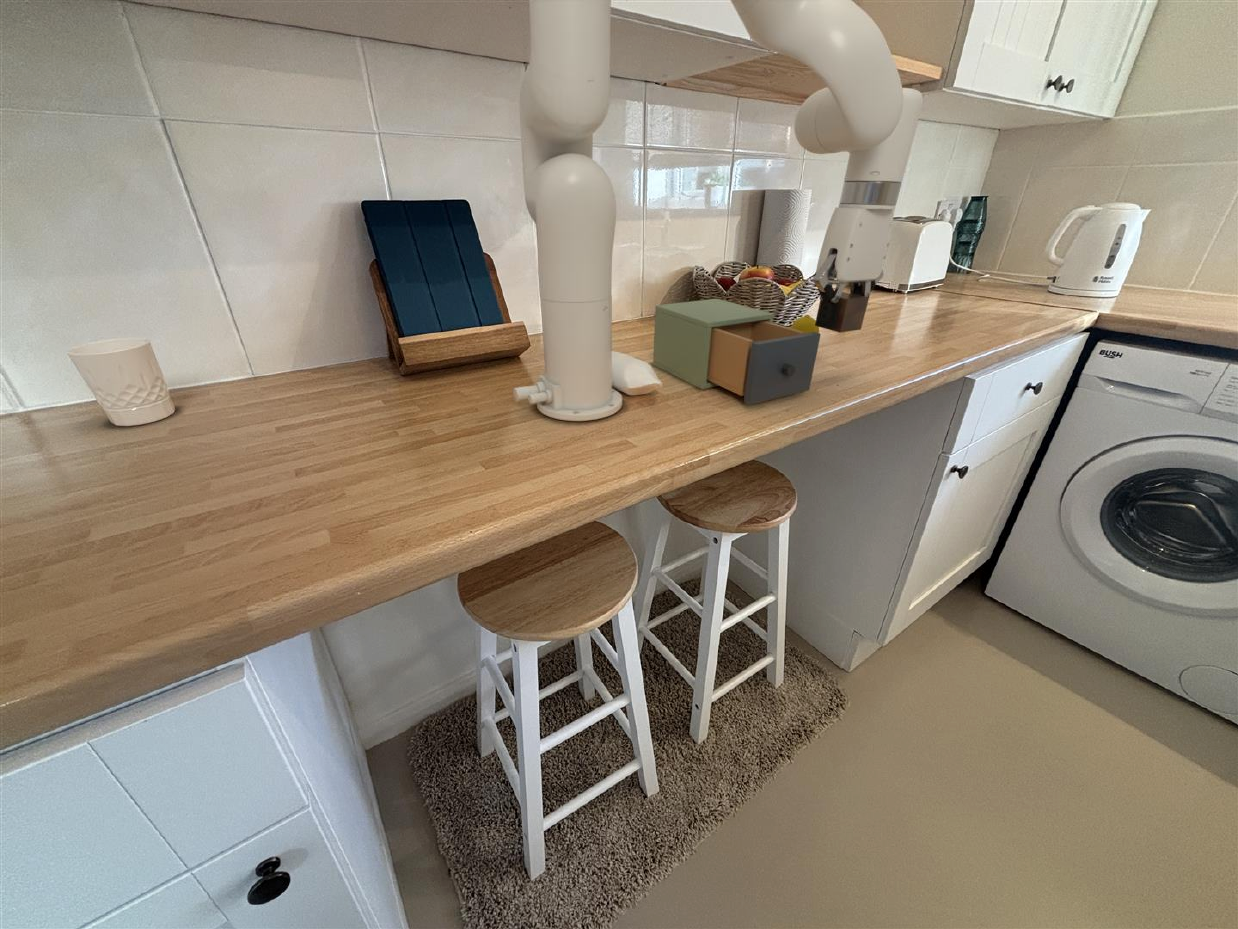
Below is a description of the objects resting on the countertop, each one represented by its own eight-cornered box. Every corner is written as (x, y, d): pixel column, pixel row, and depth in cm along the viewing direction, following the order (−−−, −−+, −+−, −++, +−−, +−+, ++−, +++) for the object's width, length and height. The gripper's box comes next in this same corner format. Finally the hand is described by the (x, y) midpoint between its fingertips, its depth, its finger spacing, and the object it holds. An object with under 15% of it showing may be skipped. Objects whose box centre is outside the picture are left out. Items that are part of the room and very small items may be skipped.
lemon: (810, 353, 98) (818, 312, 94) (817, 361, 93) (826, 318, 89) (782, 352, 98) (789, 311, 94) (787, 360, 93) (795, 317, 89)
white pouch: (639, 410, 71) (642, 372, 69) (595, 386, 80) (596, 351, 77) (671, 402, 74) (674, 366, 72) (625, 380, 83) (627, 347, 80)
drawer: (815, 392, 76) (827, 335, 72) (755, 407, 70) (764, 346, 66) (749, 366, 87) (756, 315, 83) (693, 377, 82) (697, 323, 77)
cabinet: (764, 376, 85) (774, 313, 80) (701, 389, 79) (708, 322, 74) (711, 354, 96) (716, 298, 91) (652, 364, 90) (655, 305, 85)
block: (839, 332, 76) (848, 299, 74) (814, 325, 80) (821, 293, 78) (861, 329, 78) (869, 297, 76) (835, 322, 82) (842, 291, 80)
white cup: (189, 403, 73) (159, 335, 68) (168, 423, 66) (133, 350, 62) (122, 410, 70) (86, 340, 65) (94, 432, 64) (52, 356, 59)
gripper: (882, 198, 77) (853, 316, 86) (806, 195, 69) (782, 325, 78) (929, 199, 71) (892, 326, 80) (851, 196, 64) (819, 336, 72)
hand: (838, 324), depth 79 cm, fingers closed on block, 5 cm apart
